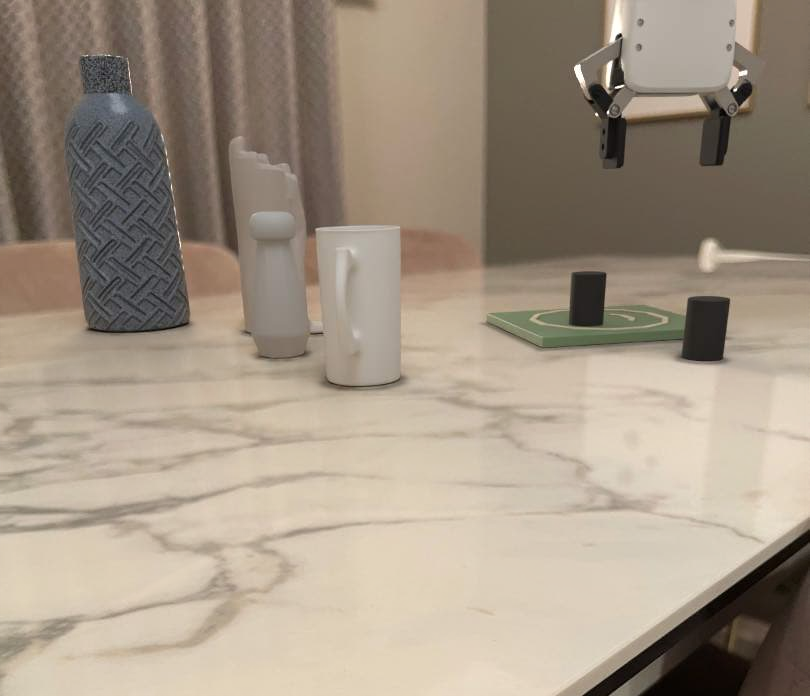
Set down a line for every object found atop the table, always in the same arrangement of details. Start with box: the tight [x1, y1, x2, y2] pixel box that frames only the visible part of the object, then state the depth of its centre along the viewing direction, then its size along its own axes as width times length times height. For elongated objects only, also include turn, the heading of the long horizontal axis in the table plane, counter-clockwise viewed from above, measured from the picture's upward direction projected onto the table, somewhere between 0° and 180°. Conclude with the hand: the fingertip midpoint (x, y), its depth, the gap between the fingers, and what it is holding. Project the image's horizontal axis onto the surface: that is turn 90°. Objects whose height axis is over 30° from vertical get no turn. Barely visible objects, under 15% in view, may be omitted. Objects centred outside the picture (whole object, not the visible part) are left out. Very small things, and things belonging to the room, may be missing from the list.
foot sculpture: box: [228, 135, 323, 334], centre depth 93 cm, size 7×14×20 cm, turn 88°
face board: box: [486, 304, 686, 349], centre depth 93 cm, size 20×18×1 cm
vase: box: [63, 54, 191, 333], centre depth 97 cm, size 12×12×28 cm
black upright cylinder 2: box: [681, 295, 731, 362], centre depth 76 cm, size 4×4×5 cm
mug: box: [315, 225, 402, 387], centre depth 68 cm, size 10×7×12 cm, turn 169°
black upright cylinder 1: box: [568, 270, 608, 326], centre depth 89 cm, size 4×4×5 cm
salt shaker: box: [249, 211, 311, 359], centre depth 80 cm, size 6×6×13 cm
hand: (662, 167), depth 77 cm, fingers open, 9 cm apart
